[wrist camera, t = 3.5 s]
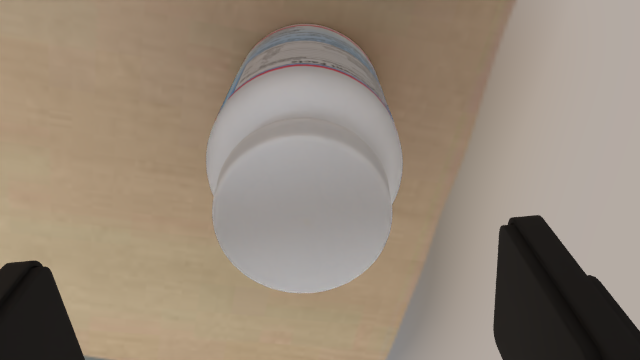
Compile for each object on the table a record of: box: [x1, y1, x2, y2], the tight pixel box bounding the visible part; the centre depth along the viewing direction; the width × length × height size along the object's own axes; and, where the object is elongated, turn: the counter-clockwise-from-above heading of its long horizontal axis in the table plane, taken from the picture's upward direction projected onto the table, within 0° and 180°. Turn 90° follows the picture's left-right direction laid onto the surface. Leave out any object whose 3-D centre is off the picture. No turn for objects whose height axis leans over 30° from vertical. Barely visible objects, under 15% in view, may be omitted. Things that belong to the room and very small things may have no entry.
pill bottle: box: [206, 24, 403, 293], centre depth 19 cm, size 6×6×11 cm
